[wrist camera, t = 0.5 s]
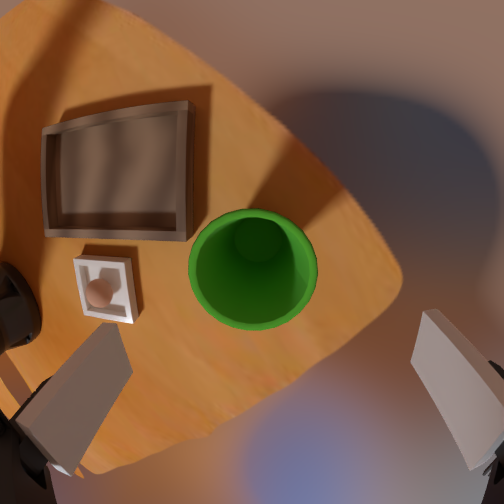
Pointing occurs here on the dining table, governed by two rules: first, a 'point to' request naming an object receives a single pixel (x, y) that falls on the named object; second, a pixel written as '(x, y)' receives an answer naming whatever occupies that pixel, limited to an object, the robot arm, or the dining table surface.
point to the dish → (117, 276)
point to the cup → (252, 269)
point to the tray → (120, 174)
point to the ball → (99, 293)
